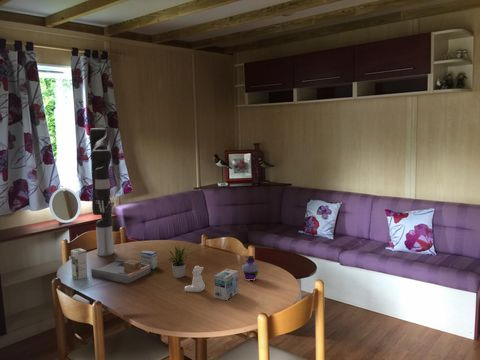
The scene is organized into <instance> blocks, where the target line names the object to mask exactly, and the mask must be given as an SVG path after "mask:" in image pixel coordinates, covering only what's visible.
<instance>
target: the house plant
mask: <svg viewBox="0 0 480 360" xmlns="http://www.w3.org/2000/svg"><path fill="white" fill-rule="evenodd" d="M186 248H187V245H185V246H183V248H182V249H181V248H180V245H175V246H174V250H175V251H174V253H175V254H174V253H173V252H172V251H171V250H170V249H168V248H166V250H167V251H168V252H169V253H170V254H171V255H170V254H169V255H168V256H169V257H168V260H169V262H172V263H171V268H172V272H173V277H174V278H177V279H178V278H183V277H184V276H185V271H186V265H187V264H186V263H185V262H186V260H187V259H188V258H190V255H189V256H188V255H187V254H188V253H189V252H190V250H189V249H191V248H192V249H193V248H194V247H188V248H187V249H186Z"/></svg>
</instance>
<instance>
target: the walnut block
mask: <svg viewBox="0 0 480 360" xmlns="http://www.w3.org/2000/svg"><path fill="white" fill-rule="evenodd" d="M139 269H141V260H133V259H127V260H126V262H124V272H127V273H132V272H134V271H136V270H139Z"/></svg>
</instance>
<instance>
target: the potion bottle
mask: <svg viewBox="0 0 480 360" xmlns="http://www.w3.org/2000/svg"><path fill="white" fill-rule="evenodd" d="M245 262H246V263H245V264H242V265H241V267H242V271H243V274H244V279H245V278H246V279H254V278H255V277H256V278H257V276H258V275H259V268H260V266H259V264H257V263H255V262H256V260H255V257H254V256H253V255H247V258H245Z"/></svg>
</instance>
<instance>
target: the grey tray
mask: <svg viewBox="0 0 480 360" xmlns="http://www.w3.org/2000/svg"><path fill="white" fill-rule="evenodd" d="M126 261H127V260H125V259H121V258H120V259H119V258H114V261H113V262H110V263H108V264H106V265H103V266H101V267H98V268H92V267H91V268H90V270H91V274H90V275H91V277H92V278H93V277H95V278H99V279H103V280H108V281H113V282H119V283H123V284H130V283H132V282H133V281H136V280H138V279H140V278H141V277H144V276H146V275H149V274H150V273H151V272H152V269H151V265H149V264H143V263H141V269H139V270H136V271H134V272H132V273H127V272H124V262H126Z"/></svg>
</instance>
